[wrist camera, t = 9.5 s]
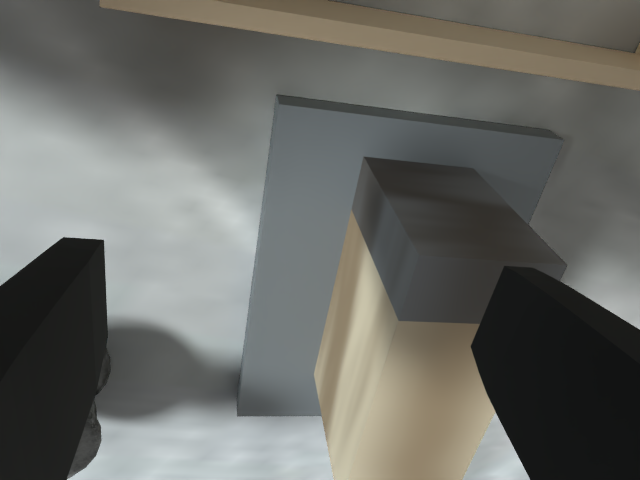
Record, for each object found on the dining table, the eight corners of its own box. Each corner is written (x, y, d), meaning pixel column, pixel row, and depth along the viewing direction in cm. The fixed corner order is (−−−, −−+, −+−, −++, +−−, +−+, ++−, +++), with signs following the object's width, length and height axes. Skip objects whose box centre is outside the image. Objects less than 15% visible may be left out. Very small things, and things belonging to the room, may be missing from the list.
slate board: (236, 398, 24) (237, 416, 23) (276, 94, 17) (279, 104, 16) (439, 399, 26) (446, 415, 25) (549, 129, 19) (564, 139, 18)
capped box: (313, 374, 22) (339, 507, 17) (363, 156, 17) (419, 255, 12) (402, 375, 23) (450, 503, 18) (473, 168, 18) (567, 264, 13)
